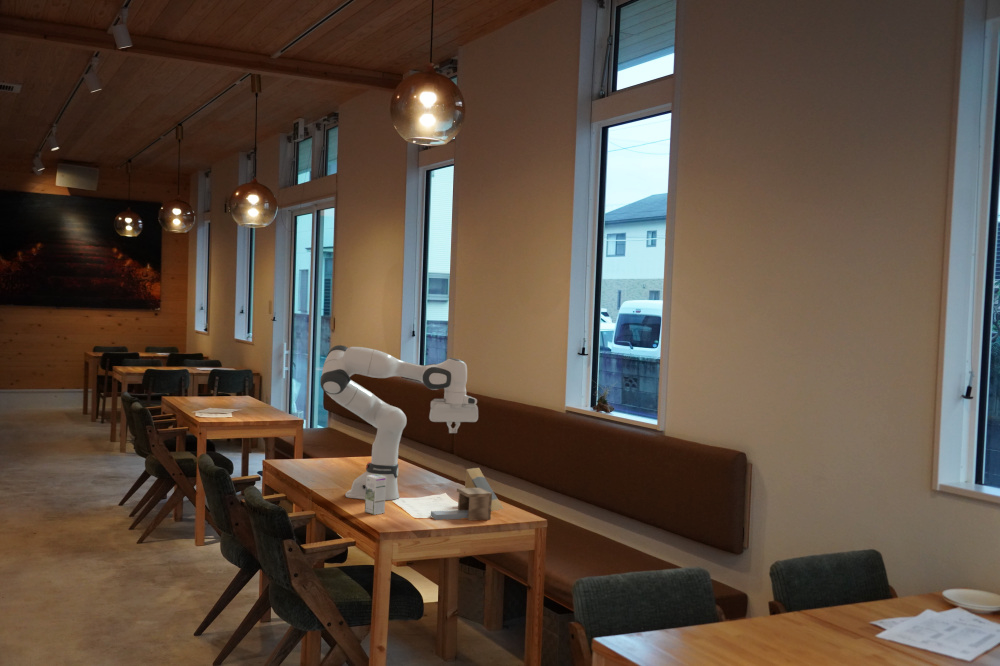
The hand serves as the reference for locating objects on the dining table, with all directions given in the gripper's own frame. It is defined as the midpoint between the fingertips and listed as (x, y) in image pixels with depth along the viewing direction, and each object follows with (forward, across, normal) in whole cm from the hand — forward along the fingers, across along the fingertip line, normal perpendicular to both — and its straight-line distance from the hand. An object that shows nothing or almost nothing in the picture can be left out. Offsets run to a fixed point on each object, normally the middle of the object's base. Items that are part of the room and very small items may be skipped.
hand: (452, 433), depth 349 cm
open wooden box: (+31, +5, -13) cm, 34 cm away
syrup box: (+31, -31, +1) cm, 44 cm away
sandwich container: (+32, +17, +3) cm, 36 cm away
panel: (+32, -1, -12) cm, 34 cm away
